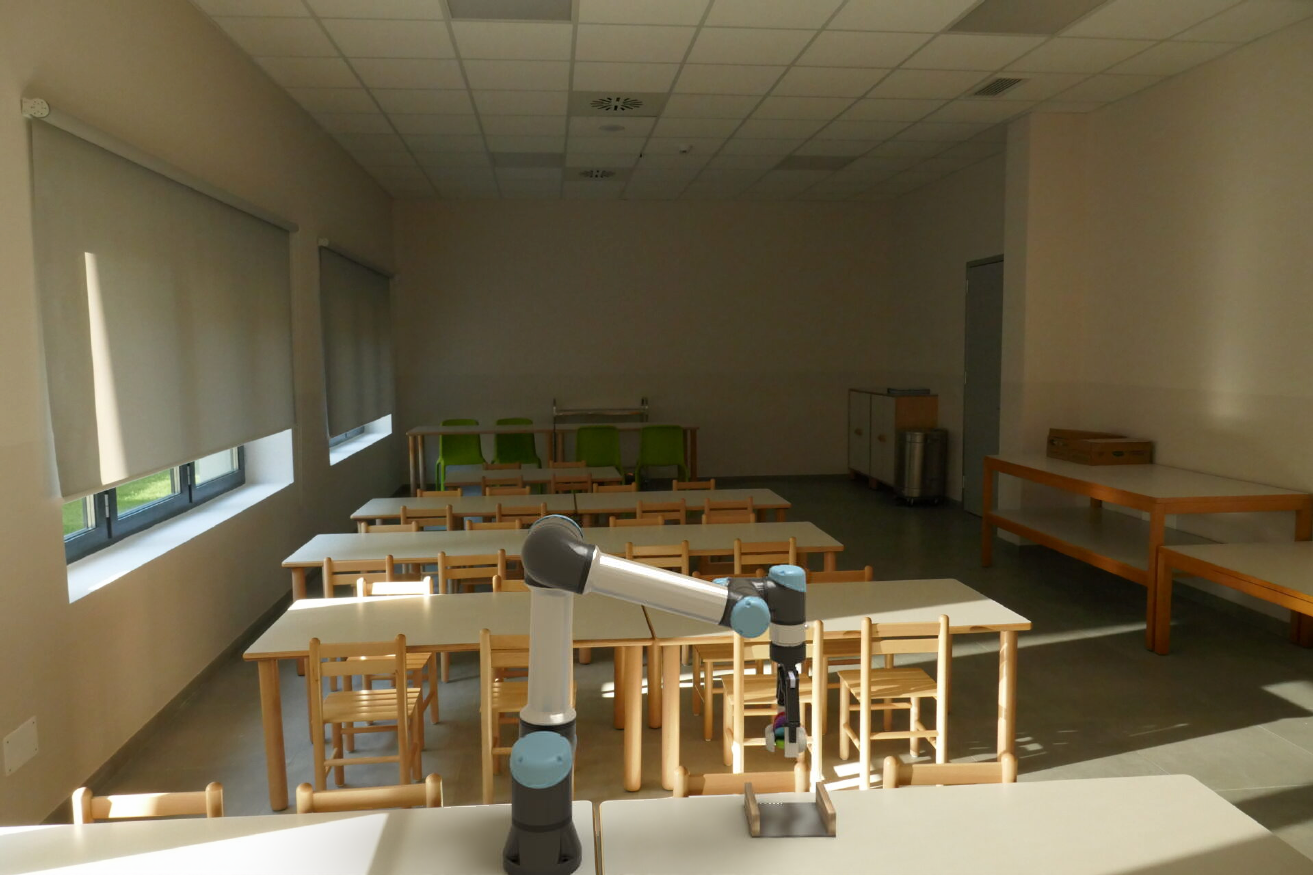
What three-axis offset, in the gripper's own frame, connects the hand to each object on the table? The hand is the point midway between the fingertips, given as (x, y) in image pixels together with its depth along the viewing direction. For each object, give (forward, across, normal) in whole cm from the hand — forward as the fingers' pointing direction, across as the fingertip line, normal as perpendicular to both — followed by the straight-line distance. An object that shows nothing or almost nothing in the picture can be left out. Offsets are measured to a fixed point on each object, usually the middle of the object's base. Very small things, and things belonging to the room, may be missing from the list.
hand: (787, 745), depth 195 cm
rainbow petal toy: (+1, 0, 0) cm, 1 cm away
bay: (+16, 0, 0) cm, 16 cm away
